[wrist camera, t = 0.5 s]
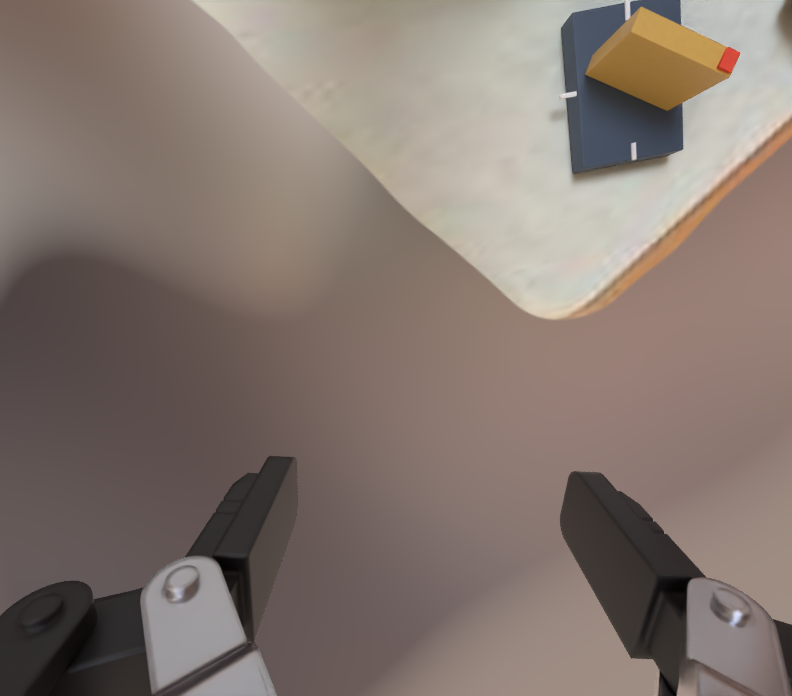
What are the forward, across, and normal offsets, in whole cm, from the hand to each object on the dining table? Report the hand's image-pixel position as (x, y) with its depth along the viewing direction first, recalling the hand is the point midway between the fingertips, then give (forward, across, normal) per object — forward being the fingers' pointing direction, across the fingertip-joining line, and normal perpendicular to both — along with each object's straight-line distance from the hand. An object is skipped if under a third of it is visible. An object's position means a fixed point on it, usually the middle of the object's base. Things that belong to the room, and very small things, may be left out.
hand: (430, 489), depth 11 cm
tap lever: (+28, -18, -21) cm, 39 cm away
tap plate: (+30, -18, -20) cm, 40 cm away
